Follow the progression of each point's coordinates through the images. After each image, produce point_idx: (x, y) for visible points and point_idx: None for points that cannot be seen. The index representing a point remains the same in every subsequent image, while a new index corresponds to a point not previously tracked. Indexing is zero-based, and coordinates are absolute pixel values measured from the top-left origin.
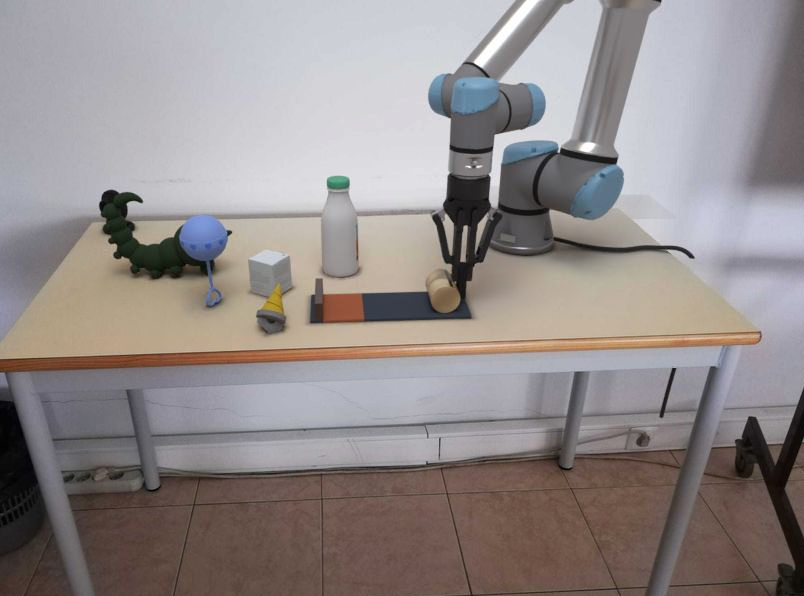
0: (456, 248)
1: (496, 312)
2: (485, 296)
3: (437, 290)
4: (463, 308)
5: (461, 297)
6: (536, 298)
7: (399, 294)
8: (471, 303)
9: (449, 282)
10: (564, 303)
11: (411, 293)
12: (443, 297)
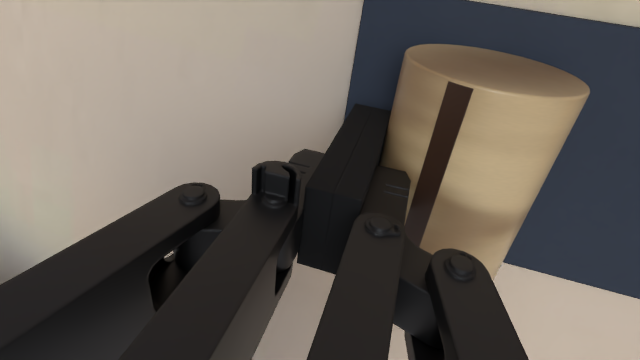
0: (371, 345)
1: (245, 21)
2: (255, 161)
3: (565, 95)
4: (376, 73)
5: (373, 110)
6: (94, 96)
7: (593, 267)
8: (321, 125)
9: (446, 150)
10: (9, 35)
11: (534, 258)
12: (509, 72)
